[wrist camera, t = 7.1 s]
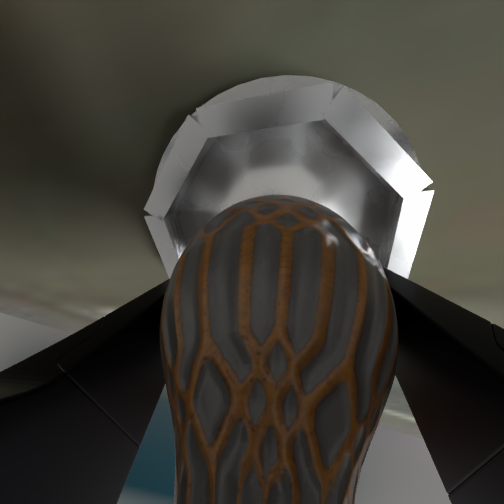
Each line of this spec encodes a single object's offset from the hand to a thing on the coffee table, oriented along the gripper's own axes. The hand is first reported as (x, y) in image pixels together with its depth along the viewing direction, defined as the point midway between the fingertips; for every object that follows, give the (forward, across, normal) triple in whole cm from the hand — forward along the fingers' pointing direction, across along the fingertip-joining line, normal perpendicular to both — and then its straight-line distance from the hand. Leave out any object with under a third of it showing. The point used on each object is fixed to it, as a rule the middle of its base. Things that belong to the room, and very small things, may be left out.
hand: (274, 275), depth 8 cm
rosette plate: (+4, 0, 0) cm, 4 cm away
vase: (+2, 0, 0) cm, 2 cm away
